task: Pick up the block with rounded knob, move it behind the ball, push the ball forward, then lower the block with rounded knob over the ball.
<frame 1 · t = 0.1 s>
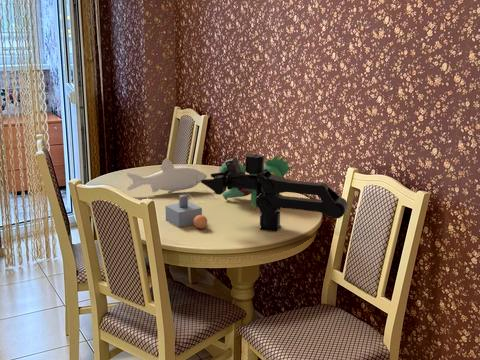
hand: (206, 178, 221), 17 cm above the table, tool horizontal, fingers open, 9 cm apart
trading card: (202, 196, 258), on the table
ball: (200, 221, 216), on the table
block with rounded knob: (183, 221, 224), on the table
fish: (167, 194, 260), on the table
toy: (254, 204, 247), on the table
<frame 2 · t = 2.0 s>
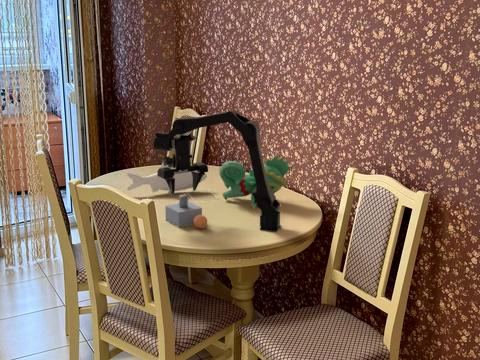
hand: (183, 192, 221), 11 cm above the table, tool pointing down, fingers open, 9 cm apart
nothing on the table moved.
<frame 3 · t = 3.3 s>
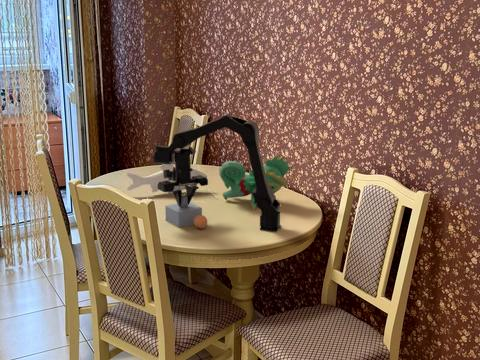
hand: (183, 205, 223), 6 cm above the table, tool pointing down, fingers closed on block with rounded knob, 3 cm apart
block with rounded knob: (183, 221, 224), on the table, touching gripper
everything else where it was.
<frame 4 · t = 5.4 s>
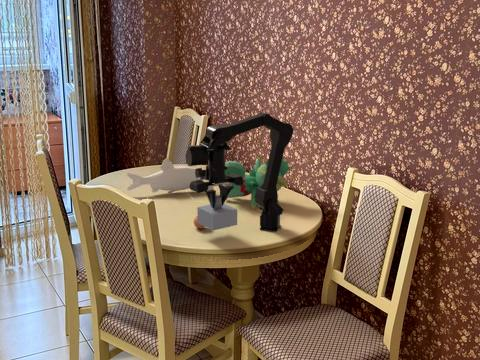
hand: (217, 206, 205), 11 cm above the table, tool pointing down, fingers closed on block with rounded knob, 3 cm apart
block with rounded knob: (217, 223, 207), point 5 cm above the table, touching gripper
everything else where it was.
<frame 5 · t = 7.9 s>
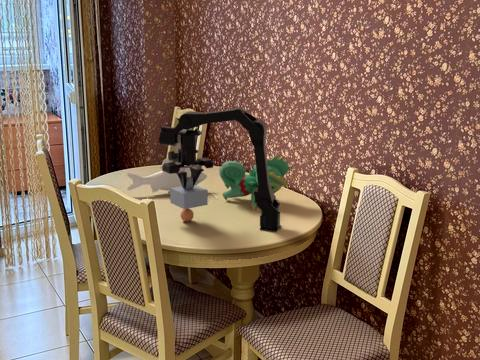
hand: (188, 188, 219), 14 cm above the table, tool pointing down, fingers closed on block with rounded knob, 3 cm apart
ball: (187, 214, 224), on the table
block with rounded knob: (188, 203, 220), point 8 cm above the table, touching gripper
everything else where it was.
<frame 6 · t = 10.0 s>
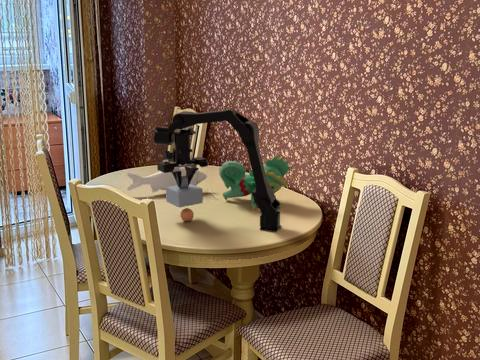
hand: (183, 186, 223), 13 cm above the table, tool pointing down, fingers closed on block with rounded knob, 3 cm apart
block with rounded knob: (184, 202, 224), point 7 cm above the table, touching gripper
everything else where it was.
when the fingers open (7 cm above the table, at t = 11.6 s): block with rounded knob stays where it is, on the table.
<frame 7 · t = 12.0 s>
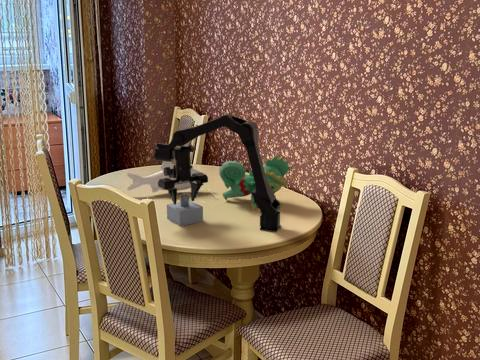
hand: (183, 202, 224), 7 cm above the table, tool pointing down, fingers open, 7 cm apart
block with rounded knob: (184, 219, 226), on the table
everything else where it was.
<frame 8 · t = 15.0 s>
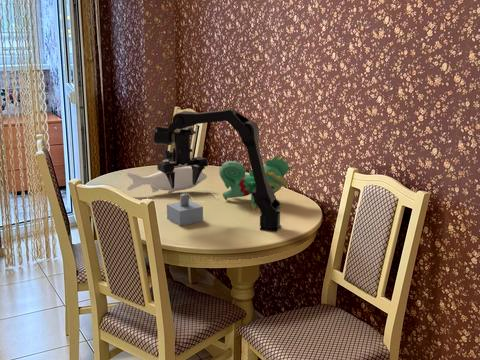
hand: (183, 186, 223), 13 cm above the table, tool pointing down, fingers open, 9 cm apart
nothing on the table moved.
at the end: ball 1.7 cm from the block with rounded knob (horizontally); block with rounded knob on the table; ball moved 9.6 cm from its start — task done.
